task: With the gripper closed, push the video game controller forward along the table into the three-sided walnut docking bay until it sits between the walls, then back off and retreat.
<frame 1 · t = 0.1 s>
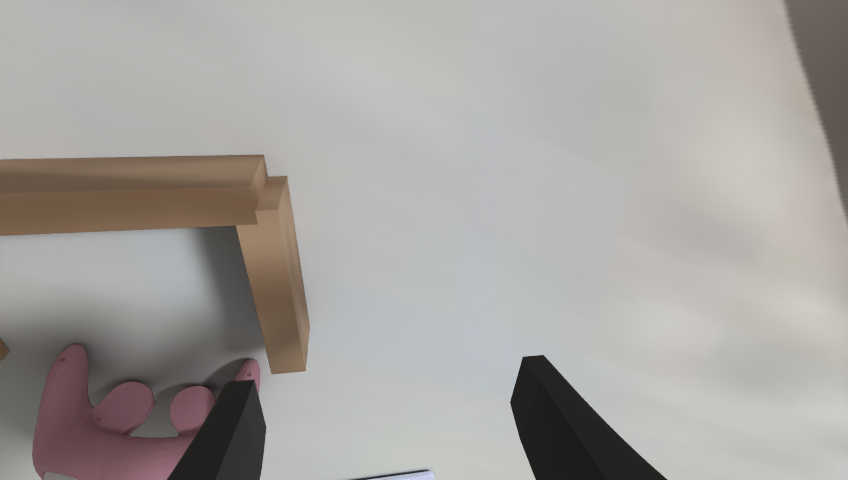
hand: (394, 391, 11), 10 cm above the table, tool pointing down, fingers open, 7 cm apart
docking bay: (127, 288, 20), on the table
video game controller: (172, 377, 24), on the table
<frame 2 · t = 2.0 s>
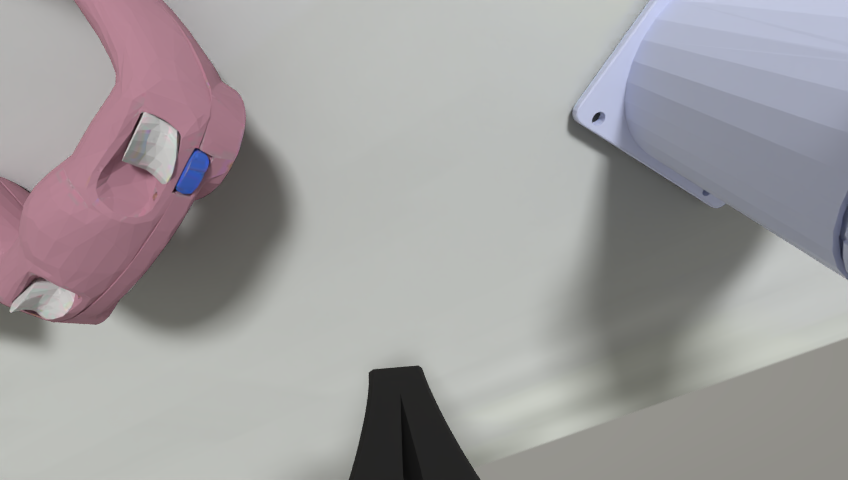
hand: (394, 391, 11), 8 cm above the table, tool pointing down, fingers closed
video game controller: (128, 132, 14), on the table
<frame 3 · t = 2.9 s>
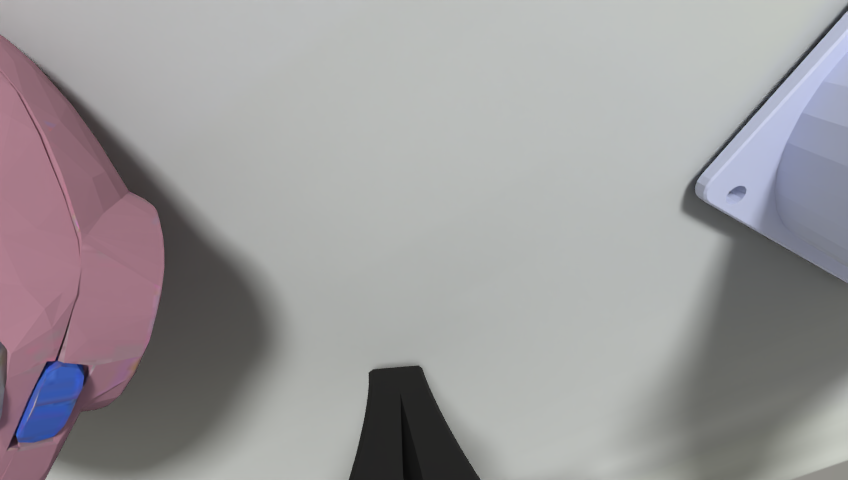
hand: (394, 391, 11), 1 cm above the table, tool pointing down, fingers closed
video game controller: (16, 244, 9), on the table
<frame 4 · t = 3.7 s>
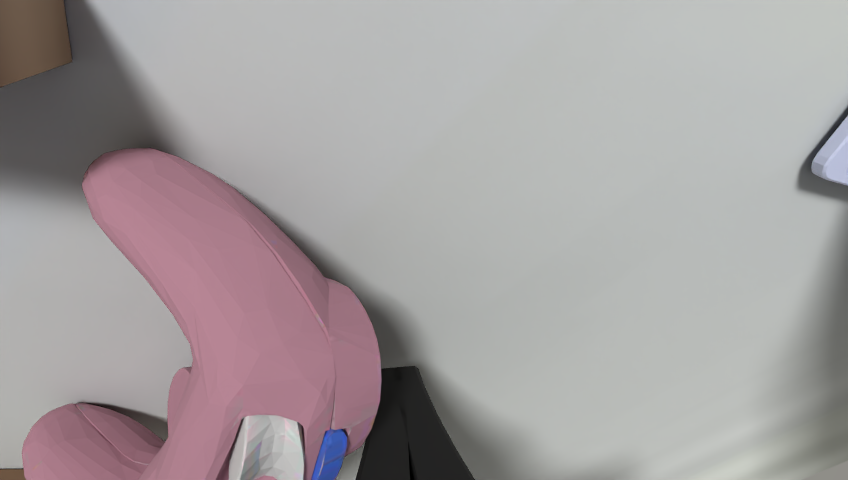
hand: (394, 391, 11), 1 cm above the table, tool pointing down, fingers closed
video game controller: (211, 321, 11), on the table, touching gripper
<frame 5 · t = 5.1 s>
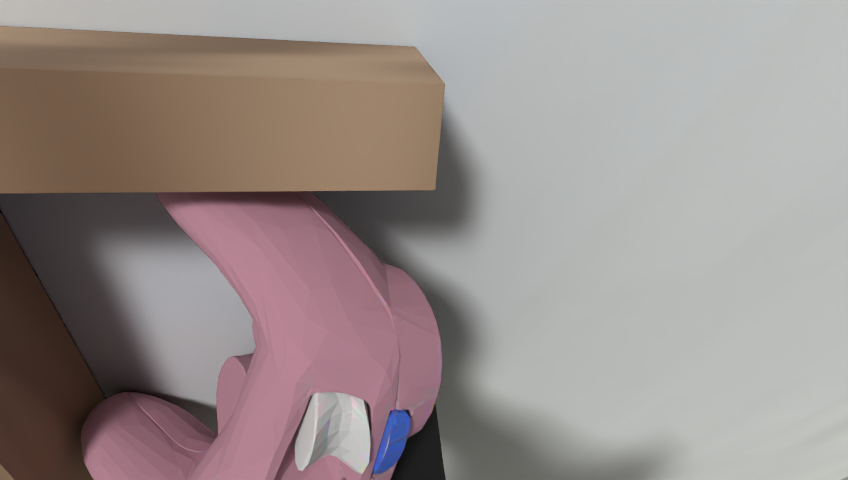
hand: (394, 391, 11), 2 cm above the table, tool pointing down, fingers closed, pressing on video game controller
docking bay: (278, 347, 12), on the table
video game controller: (258, 311, 11), on the table, touching docking bay, gripper
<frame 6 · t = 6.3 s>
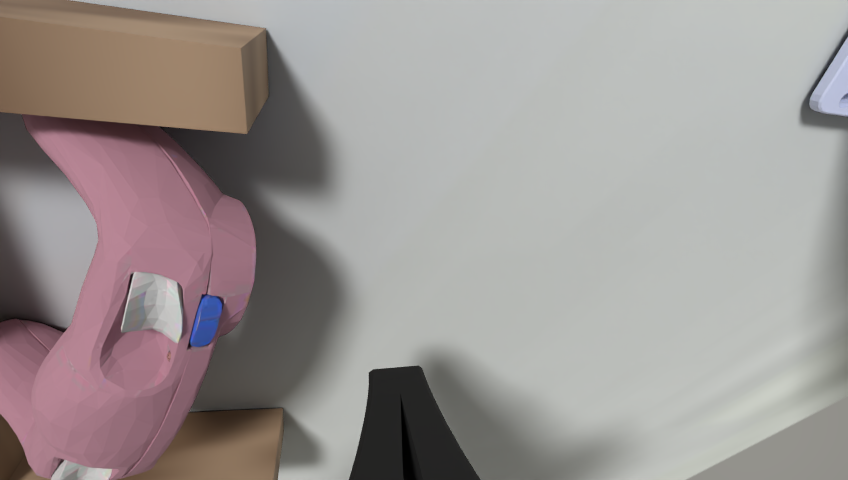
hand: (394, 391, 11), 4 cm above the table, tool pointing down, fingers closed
docking bay: (164, 287, 13), on the table
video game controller: (142, 249, 13), on the table
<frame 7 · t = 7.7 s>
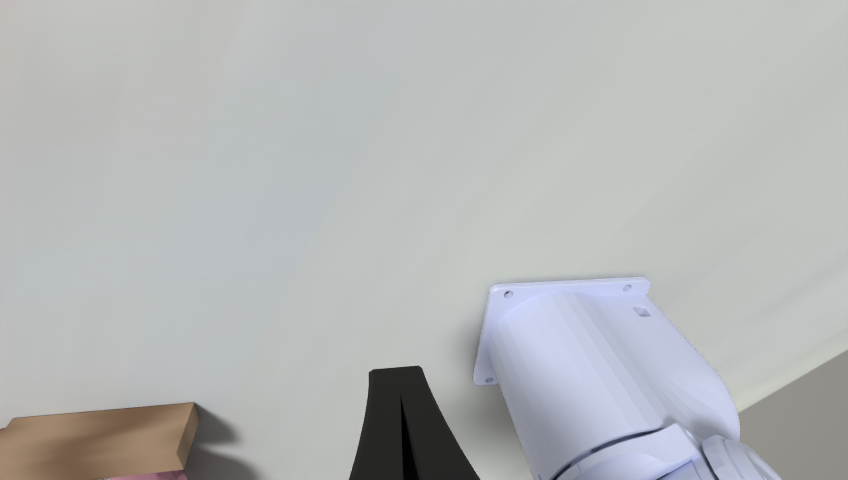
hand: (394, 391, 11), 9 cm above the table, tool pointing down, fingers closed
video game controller: (153, 469, 27), on the table
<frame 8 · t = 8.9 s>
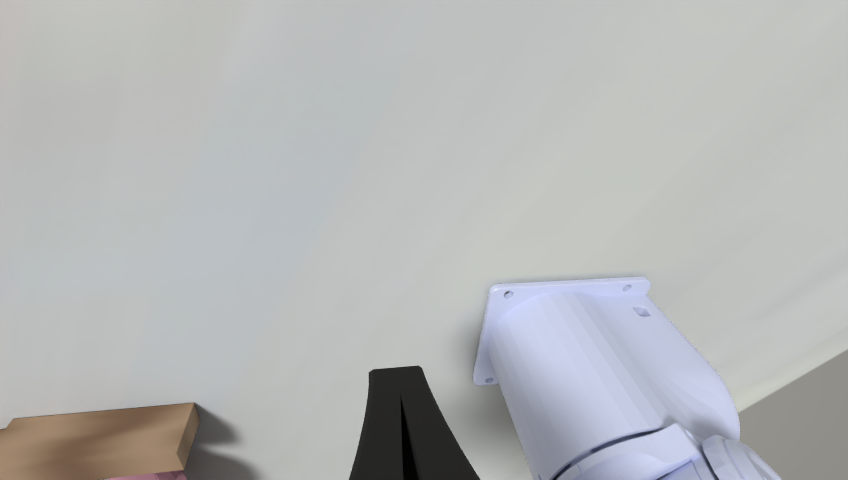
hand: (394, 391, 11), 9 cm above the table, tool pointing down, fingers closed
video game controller: (153, 469, 27), on the table
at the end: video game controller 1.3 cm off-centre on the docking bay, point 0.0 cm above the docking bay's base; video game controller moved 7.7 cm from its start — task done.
